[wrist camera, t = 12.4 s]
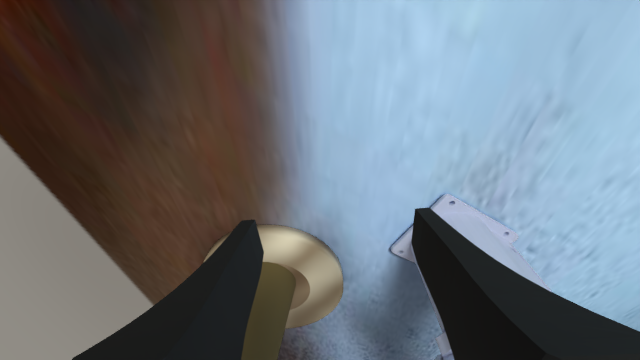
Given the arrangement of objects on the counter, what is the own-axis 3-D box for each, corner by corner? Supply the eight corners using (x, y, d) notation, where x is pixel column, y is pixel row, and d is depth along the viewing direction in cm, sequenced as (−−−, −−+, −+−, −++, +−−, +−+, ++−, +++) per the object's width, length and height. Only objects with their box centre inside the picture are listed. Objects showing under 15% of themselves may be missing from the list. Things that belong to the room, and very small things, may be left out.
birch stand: (369, 260, 28) (372, 272, 27) (301, 329, 35) (300, 342, 33) (235, 200, 24) (229, 211, 23) (187, 291, 31) (181, 304, 29)
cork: (272, 307, 30) (248, 441, 20) (225, 282, 27) (175, 419, 18) (308, 281, 27) (300, 419, 18) (260, 252, 25) (223, 391, 16)
